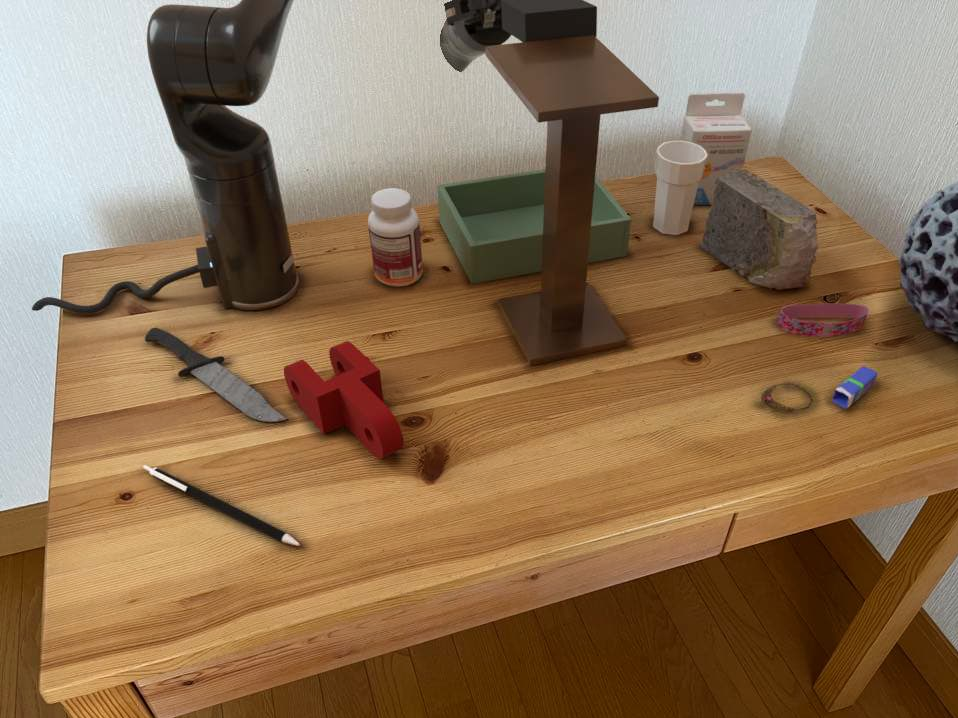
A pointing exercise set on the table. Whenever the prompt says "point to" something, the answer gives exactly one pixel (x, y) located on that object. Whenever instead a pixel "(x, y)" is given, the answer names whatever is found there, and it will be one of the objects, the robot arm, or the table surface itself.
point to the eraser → (854, 387)
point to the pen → (222, 506)
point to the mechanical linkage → (347, 399)
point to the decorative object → (933, 262)
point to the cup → (677, 184)
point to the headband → (822, 310)
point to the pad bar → (548, 19)
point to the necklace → (768, 399)
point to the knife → (217, 377)
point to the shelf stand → (567, 186)
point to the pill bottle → (395, 238)
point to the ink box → (716, 137)
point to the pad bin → (518, 224)
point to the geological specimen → (761, 231)
